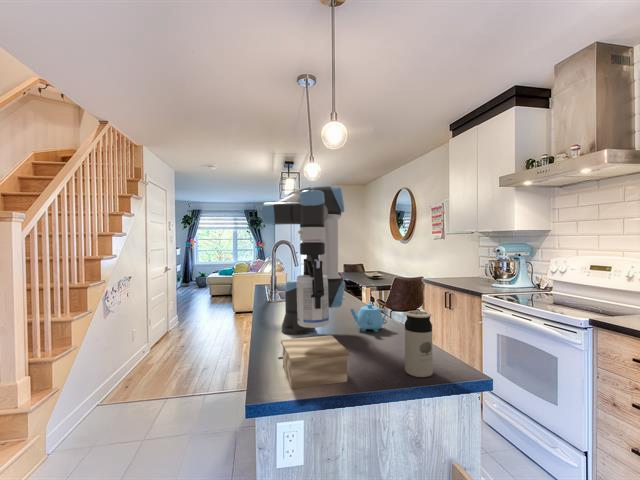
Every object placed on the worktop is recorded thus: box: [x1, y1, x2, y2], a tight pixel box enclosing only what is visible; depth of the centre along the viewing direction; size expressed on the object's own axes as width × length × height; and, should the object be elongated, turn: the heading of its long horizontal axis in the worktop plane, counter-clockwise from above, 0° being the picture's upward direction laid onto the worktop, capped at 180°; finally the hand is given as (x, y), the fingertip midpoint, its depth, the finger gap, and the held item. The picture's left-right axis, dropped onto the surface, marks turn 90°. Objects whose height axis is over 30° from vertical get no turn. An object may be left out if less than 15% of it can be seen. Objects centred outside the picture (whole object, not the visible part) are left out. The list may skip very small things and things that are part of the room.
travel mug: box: [404, 310, 434, 378], centre depth 98 cm, size 8×8×18 cm
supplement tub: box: [296, 274, 330, 329], centre depth 97 cm, size 10×10×15 cm
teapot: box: [349, 300, 388, 333], centre depth 146 cm, size 15×14×11 cm
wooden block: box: [280, 335, 350, 389], centre depth 97 cm, size 17×17×8 cm
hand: (312, 315), depth 97 cm, fingers closed on supplement tub, 10 cm apart
